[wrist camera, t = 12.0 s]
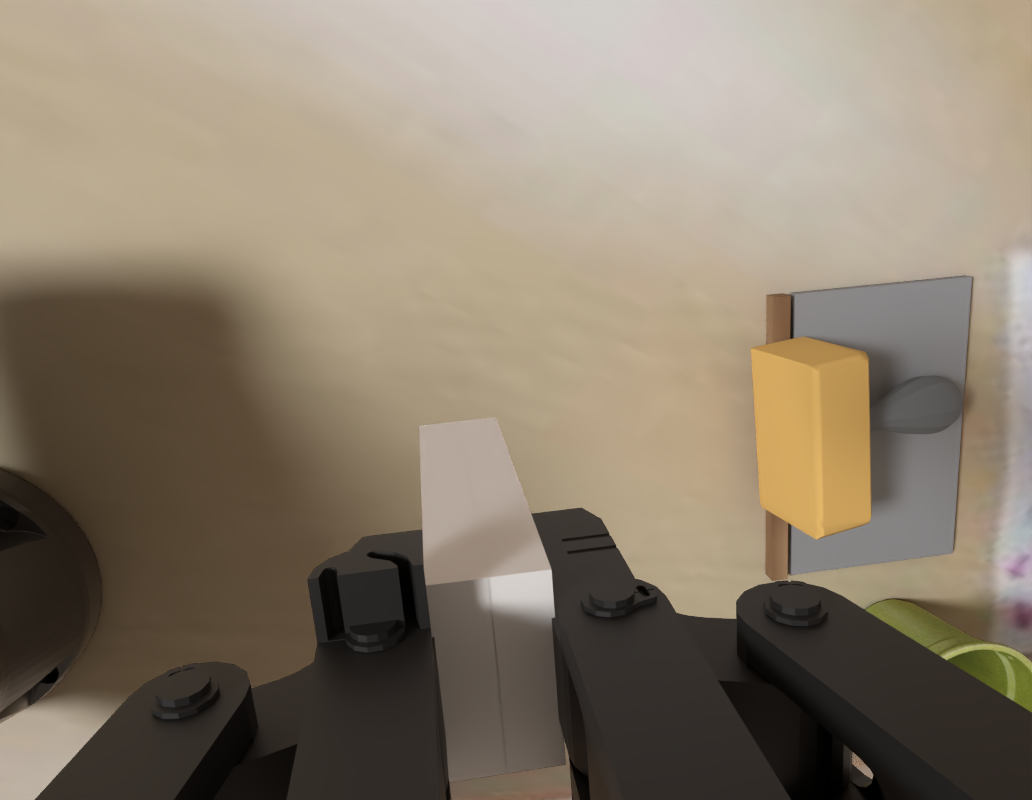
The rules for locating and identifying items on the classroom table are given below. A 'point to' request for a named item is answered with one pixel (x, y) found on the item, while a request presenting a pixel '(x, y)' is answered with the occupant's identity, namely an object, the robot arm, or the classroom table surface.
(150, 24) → the classroom table surface
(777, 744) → the robot arm
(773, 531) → the rail
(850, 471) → the rubber stamp
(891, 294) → the mat
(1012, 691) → the plant pot
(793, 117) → the classroom table surface
